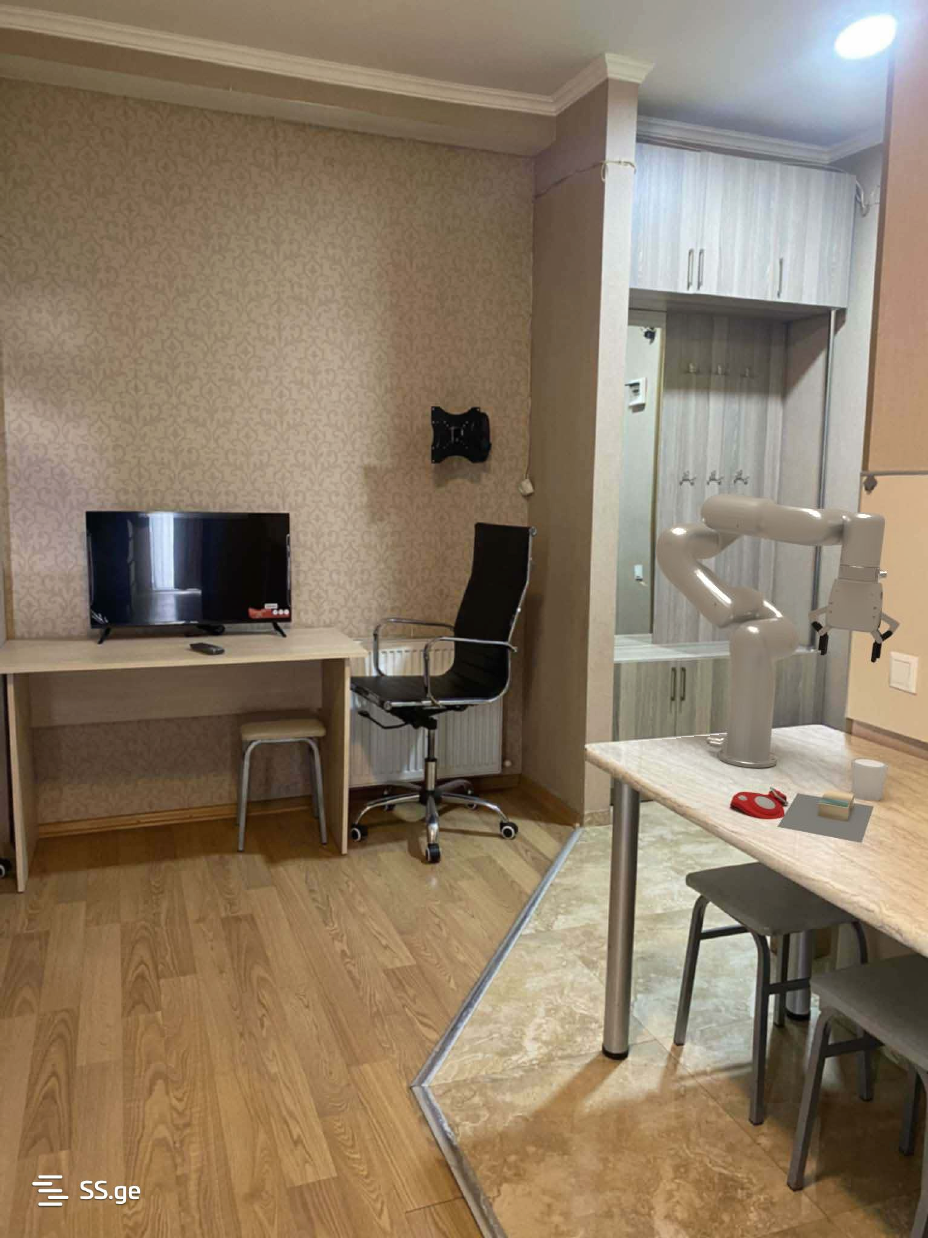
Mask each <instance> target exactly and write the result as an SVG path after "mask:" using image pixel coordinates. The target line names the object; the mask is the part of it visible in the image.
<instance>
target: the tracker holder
mask: <svg viewBox="0 0 928 1238" xmlns="http://www.w3.org/2000/svg"><path fill="white" fill-rule="evenodd" d="M769 789H770V790H769V791H768V793H766V794H763V793H759V792H753V791H752V792H751V791H739V792H737V793H735V794H734V795H733V796H732V797H731V798H732V799H731V801H730V804H729V807H730V808H732V809H733V808H735V807H736V808H738V809H740V810H741V811H742V812H743V813H744V814H745V815H748V817H751V818H753V819H758V820H759V819H760V820H778V819H782V818H783V816H784V815H785V813H786V811H785V809H784V806H785V804H786V805H789V804H790V803H789V801H788V800H787V798H788V797H787V796H786V795H785V794H784V793H783V792H781V791H780V790H777V789H775V788H774V787H772V786H770V787H769Z"/></svg>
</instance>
